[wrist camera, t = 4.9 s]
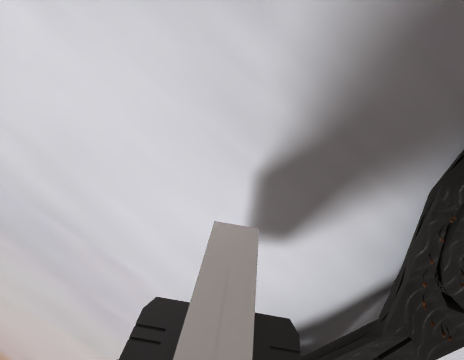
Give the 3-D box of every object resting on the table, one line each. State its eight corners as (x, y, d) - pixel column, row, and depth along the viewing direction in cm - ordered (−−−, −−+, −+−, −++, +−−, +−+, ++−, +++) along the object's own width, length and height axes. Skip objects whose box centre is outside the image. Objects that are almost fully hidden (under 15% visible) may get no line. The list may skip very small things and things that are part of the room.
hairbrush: (119, 410, 15) (1050, -156, 6) (153, 342, 19) (790, -87, 10) (256, 536, 16) (1207, 204, 8) (264, 450, 20) (925, 153, 11)
